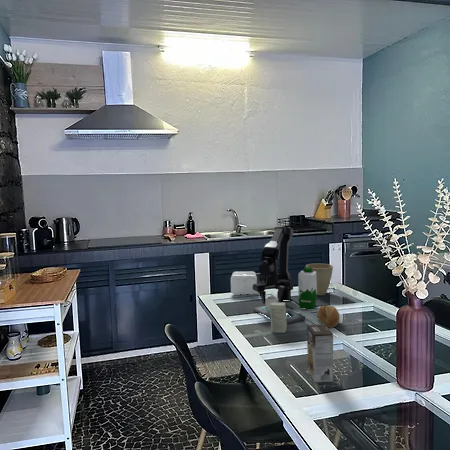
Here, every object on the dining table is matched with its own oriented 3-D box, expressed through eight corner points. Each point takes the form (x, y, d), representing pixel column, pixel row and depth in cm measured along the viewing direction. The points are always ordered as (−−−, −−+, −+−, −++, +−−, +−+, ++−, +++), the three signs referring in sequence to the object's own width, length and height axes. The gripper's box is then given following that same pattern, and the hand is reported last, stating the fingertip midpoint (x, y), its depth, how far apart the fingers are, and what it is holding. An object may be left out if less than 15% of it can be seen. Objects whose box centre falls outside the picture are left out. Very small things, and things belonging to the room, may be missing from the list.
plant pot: (330, 298, 227) (330, 269, 225) (303, 295, 233) (302, 267, 231) (335, 291, 240) (335, 263, 238) (309, 289, 246) (309, 262, 245)
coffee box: (307, 370, 143) (306, 324, 141) (325, 369, 143) (325, 323, 141) (314, 382, 134) (313, 334, 132) (333, 381, 134) (333, 333, 132)
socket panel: (278, 306, 215) (277, 303, 215) (305, 319, 193) (305, 316, 193) (254, 310, 209) (253, 307, 209) (279, 325, 187) (279, 321, 187)
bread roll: (319, 329, 181) (319, 311, 180) (315, 318, 195) (315, 301, 194) (342, 329, 180) (342, 311, 179) (336, 318, 194) (336, 301, 194)
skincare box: (287, 329, 181) (286, 302, 180) (285, 333, 177) (284, 305, 176) (272, 328, 184) (272, 301, 182) (270, 332, 179) (269, 304, 178)
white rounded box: (257, 290, 247) (257, 271, 246) (257, 295, 237) (256, 275, 235) (232, 290, 249) (232, 271, 248) (230, 295, 239) (230, 275, 237)
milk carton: (317, 305, 214) (317, 267, 212) (314, 310, 206) (314, 271, 204) (300, 304, 217) (300, 266, 215) (297, 309, 209) (296, 270, 207)
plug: (273, 309, 210) (273, 295, 209) (278, 312, 206) (278, 297, 205) (266, 311, 208) (265, 296, 207) (270, 313, 204) (270, 298, 203)
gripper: (279, 266, 216) (279, 295, 217) (246, 270, 208) (247, 301, 210) (291, 270, 206) (291, 301, 207) (257, 275, 198) (258, 307, 200)
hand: (272, 302), depth 206 cm, fingers open, 9 cm apart
